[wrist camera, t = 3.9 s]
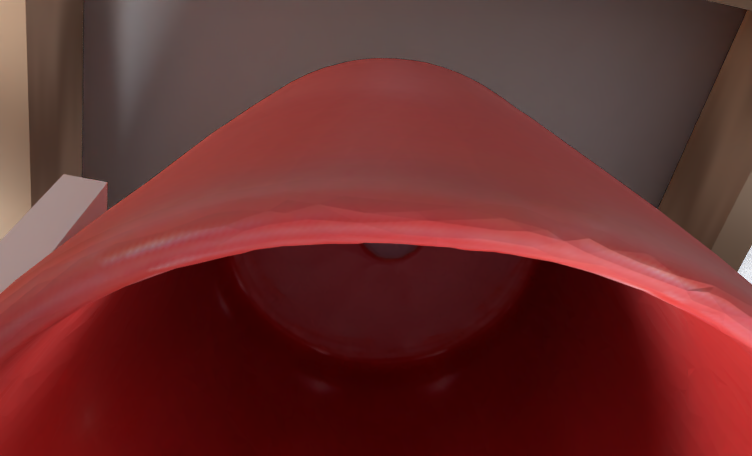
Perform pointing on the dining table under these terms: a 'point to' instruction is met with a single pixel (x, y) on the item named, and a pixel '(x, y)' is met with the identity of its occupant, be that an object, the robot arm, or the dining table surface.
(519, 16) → the dining table surface
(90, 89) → the dining table surface
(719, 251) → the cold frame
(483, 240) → the flower pot
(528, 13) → the dining table surface
